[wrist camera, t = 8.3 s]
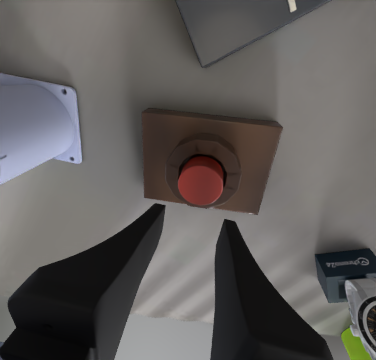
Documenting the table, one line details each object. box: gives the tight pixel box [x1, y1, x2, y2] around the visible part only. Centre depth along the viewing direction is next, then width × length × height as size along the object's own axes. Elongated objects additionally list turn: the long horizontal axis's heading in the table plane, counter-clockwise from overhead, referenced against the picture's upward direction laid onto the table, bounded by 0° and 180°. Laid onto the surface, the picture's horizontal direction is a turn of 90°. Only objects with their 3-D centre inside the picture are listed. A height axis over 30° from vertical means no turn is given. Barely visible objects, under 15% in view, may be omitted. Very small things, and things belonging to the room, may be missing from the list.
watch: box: [315, 249, 376, 360], centre depth 20 cm, size 6×8×11 cm
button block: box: [142, 108, 283, 215], centre depth 20 cm, size 12×9×4 cm
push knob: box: [178, 156, 223, 205], centre depth 17 cm, size 4×4×2 cm
